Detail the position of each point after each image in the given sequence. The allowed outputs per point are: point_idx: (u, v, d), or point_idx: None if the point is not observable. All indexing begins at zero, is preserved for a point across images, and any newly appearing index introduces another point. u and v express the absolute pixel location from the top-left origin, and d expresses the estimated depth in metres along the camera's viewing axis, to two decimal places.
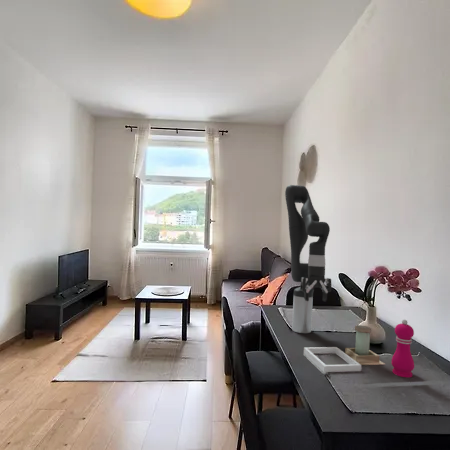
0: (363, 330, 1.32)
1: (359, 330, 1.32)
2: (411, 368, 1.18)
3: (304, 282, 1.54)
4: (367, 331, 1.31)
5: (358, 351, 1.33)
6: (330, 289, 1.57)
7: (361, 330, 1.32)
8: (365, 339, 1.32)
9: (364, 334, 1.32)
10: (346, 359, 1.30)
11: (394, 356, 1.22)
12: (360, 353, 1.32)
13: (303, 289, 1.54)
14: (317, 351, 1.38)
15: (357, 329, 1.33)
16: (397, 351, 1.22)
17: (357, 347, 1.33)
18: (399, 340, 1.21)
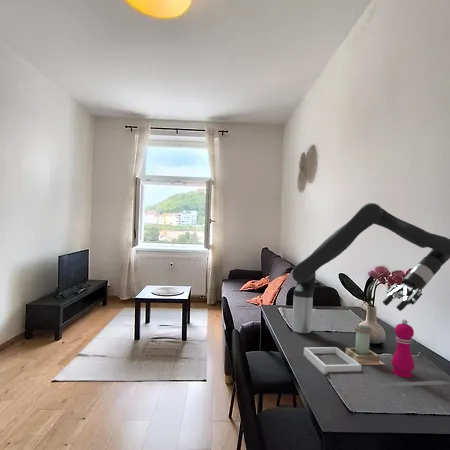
0: (363, 330, 1.32)
1: (359, 330, 1.32)
2: (411, 368, 1.18)
3: None
4: (367, 331, 1.31)
5: (358, 351, 1.33)
6: None
7: (361, 330, 1.32)
8: (365, 339, 1.32)
9: (364, 334, 1.32)
10: (346, 359, 1.30)
11: (394, 356, 1.22)
12: (360, 353, 1.32)
13: None
14: (317, 351, 1.38)
15: (357, 329, 1.33)
16: (397, 351, 1.22)
17: (357, 347, 1.33)
18: (399, 340, 1.21)
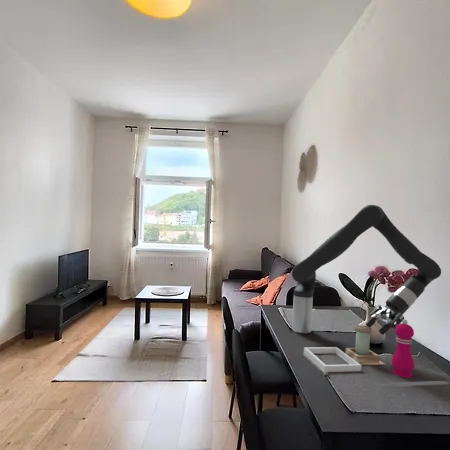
0: (363, 330, 1.32)
1: (359, 330, 1.32)
2: (411, 368, 1.18)
3: None
4: (367, 331, 1.31)
5: (358, 351, 1.33)
6: None
7: (361, 330, 1.32)
8: (365, 339, 1.32)
9: (364, 334, 1.32)
10: (346, 359, 1.30)
11: (394, 356, 1.22)
12: (360, 353, 1.32)
13: None
14: (317, 351, 1.38)
15: (357, 329, 1.33)
16: (397, 351, 1.22)
17: (357, 347, 1.33)
18: (399, 340, 1.21)
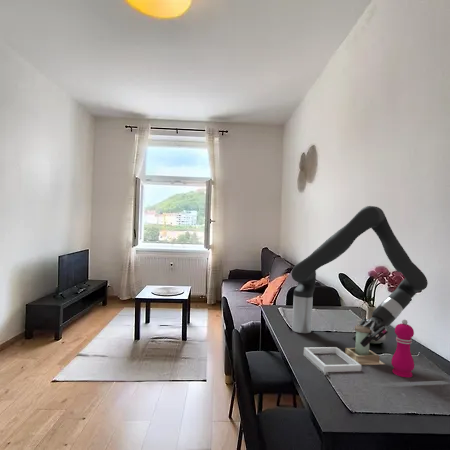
0: (363, 330, 1.32)
1: (359, 330, 1.32)
2: (411, 368, 1.18)
3: None
4: (367, 331, 1.31)
5: (358, 351, 1.33)
6: None
7: (361, 330, 1.32)
8: None
9: (364, 334, 1.32)
10: (346, 359, 1.30)
11: (394, 356, 1.22)
12: (360, 353, 1.32)
13: None
14: (317, 351, 1.38)
15: (357, 329, 1.33)
16: (397, 351, 1.22)
17: (357, 347, 1.33)
18: (399, 340, 1.21)
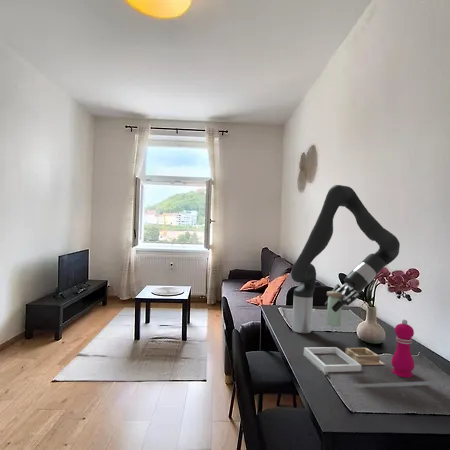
0: (335, 295, 1.27)
1: (331, 295, 1.28)
2: (411, 368, 1.18)
3: None
4: (339, 296, 1.27)
5: (329, 316, 1.29)
6: None
7: (332, 295, 1.27)
8: None
9: (336, 299, 1.28)
10: (346, 359, 1.30)
11: (394, 356, 1.22)
12: (331, 318, 1.28)
13: None
14: (317, 351, 1.38)
15: (329, 294, 1.29)
16: (397, 351, 1.22)
17: (329, 313, 1.29)
18: (399, 340, 1.21)
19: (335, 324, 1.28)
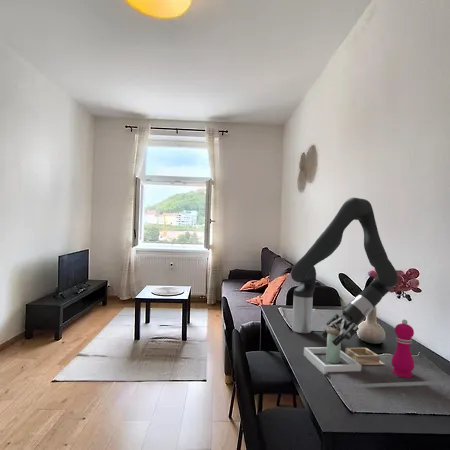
0: (334, 332, 1.28)
1: (330, 332, 1.29)
2: (411, 368, 1.18)
3: None
4: (338, 333, 1.28)
5: (328, 353, 1.29)
6: None
7: (332, 332, 1.28)
8: None
9: (335, 336, 1.28)
10: (346, 359, 1.30)
11: (394, 356, 1.22)
12: (331, 356, 1.29)
13: None
14: (317, 351, 1.38)
15: (328, 331, 1.29)
16: (397, 351, 1.22)
17: (328, 349, 1.30)
18: (399, 340, 1.21)
19: (334, 361, 1.28)
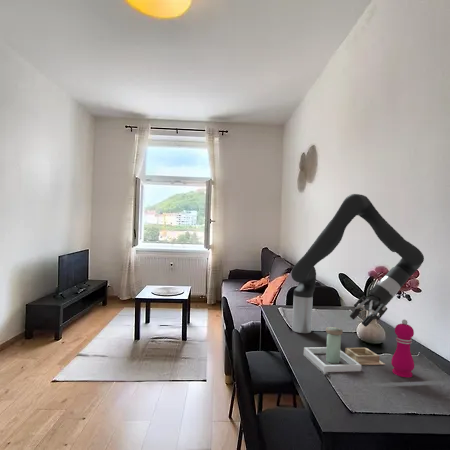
0: (333, 332, 1.28)
1: (329, 332, 1.29)
2: (411, 368, 1.18)
3: None
4: (337, 333, 1.28)
5: (328, 353, 1.29)
6: None
7: (331, 332, 1.28)
8: (336, 341, 1.28)
9: (334, 336, 1.28)
10: (346, 359, 1.30)
11: (394, 356, 1.22)
12: (330, 356, 1.29)
13: None
14: (317, 351, 1.38)
15: (328, 331, 1.29)
16: (397, 351, 1.22)
17: (328, 349, 1.30)
18: (399, 340, 1.21)
19: (334, 362, 1.28)
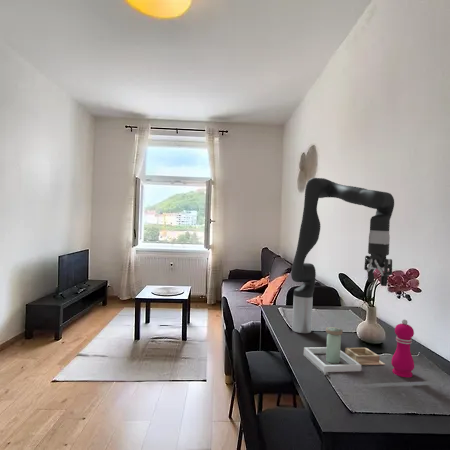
0: (333, 332, 1.28)
1: (329, 332, 1.29)
2: (411, 368, 1.18)
3: None
4: (337, 333, 1.28)
5: (328, 353, 1.29)
6: None
7: (331, 332, 1.28)
8: (336, 341, 1.28)
9: (334, 336, 1.28)
10: (346, 359, 1.30)
11: (394, 356, 1.22)
12: (330, 356, 1.29)
13: None
14: (317, 351, 1.38)
15: (328, 331, 1.29)
16: (397, 351, 1.22)
17: (328, 350, 1.30)
18: (399, 340, 1.21)
19: (334, 362, 1.28)
